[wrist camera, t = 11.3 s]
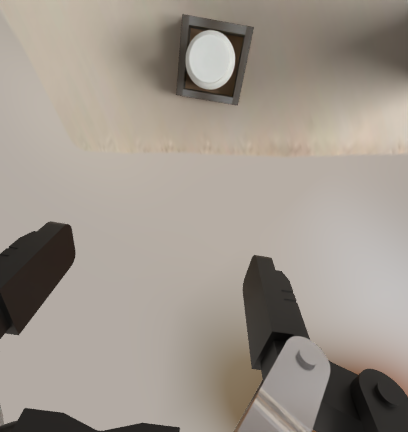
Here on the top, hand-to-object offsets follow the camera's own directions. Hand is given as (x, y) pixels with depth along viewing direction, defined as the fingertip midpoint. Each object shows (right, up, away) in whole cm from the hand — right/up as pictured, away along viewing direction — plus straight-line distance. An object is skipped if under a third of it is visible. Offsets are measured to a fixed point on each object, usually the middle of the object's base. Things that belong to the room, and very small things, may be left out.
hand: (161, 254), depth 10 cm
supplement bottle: (+3, +22, +20) cm, 30 cm away
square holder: (+3, +22, +21) cm, 31 cm away
